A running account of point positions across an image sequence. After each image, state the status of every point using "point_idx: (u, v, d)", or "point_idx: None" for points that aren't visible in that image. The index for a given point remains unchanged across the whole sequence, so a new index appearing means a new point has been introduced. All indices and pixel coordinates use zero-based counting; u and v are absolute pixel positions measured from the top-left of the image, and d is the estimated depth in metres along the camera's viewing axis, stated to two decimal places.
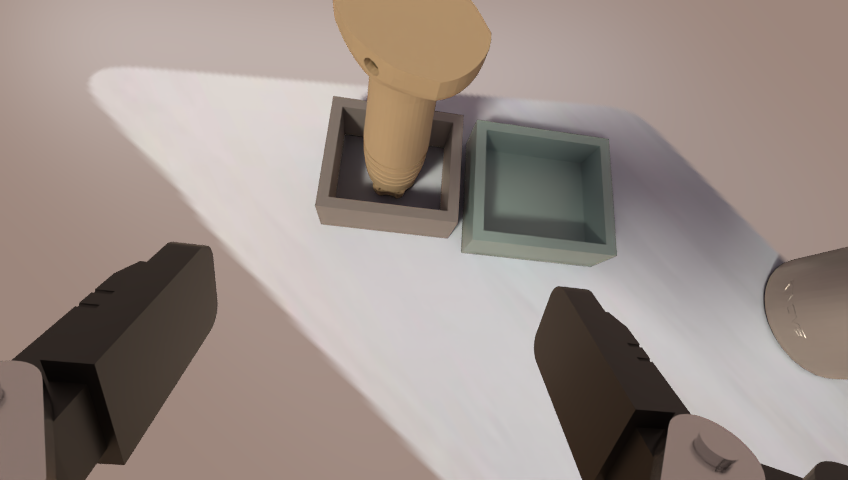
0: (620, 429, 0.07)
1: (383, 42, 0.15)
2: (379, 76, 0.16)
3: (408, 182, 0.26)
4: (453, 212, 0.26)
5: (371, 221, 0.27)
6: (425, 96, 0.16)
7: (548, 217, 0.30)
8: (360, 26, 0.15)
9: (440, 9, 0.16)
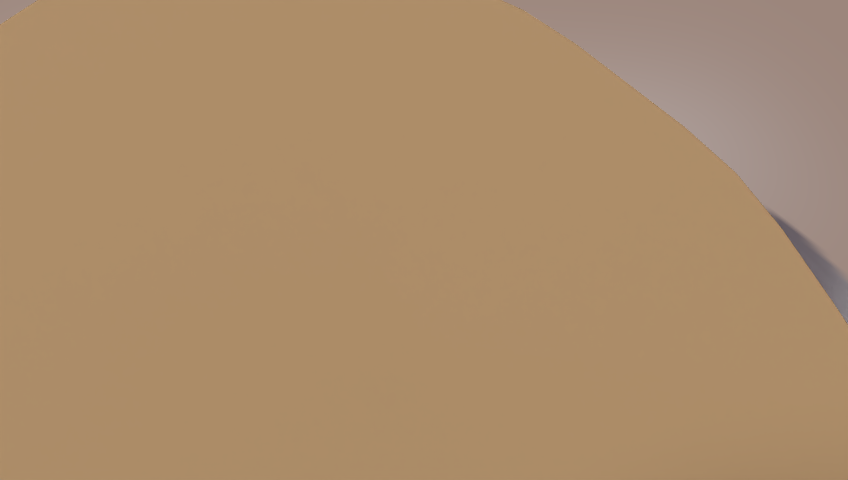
0: None
1: None
2: None
3: None
4: None
5: None
6: None
7: None
8: None
9: (592, 263, 0.03)
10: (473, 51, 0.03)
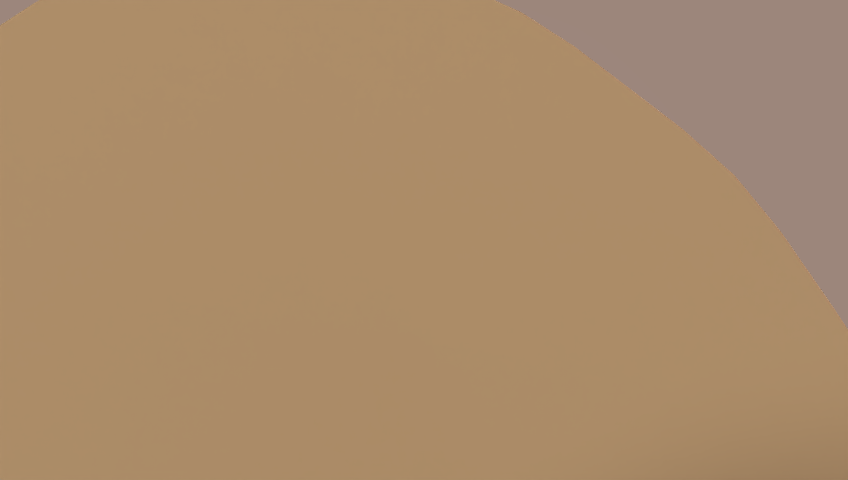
0: None
1: None
2: None
3: None
4: None
5: None
6: None
7: None
8: None
9: (590, 266, 0.03)
10: (471, 53, 0.03)
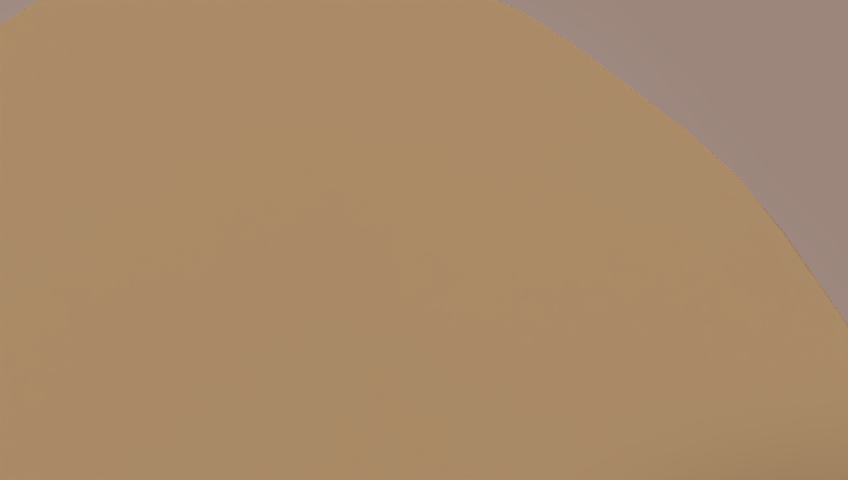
0: None
1: None
2: None
3: None
4: None
5: None
6: None
7: None
8: None
9: (592, 267, 0.03)
10: (473, 53, 0.03)
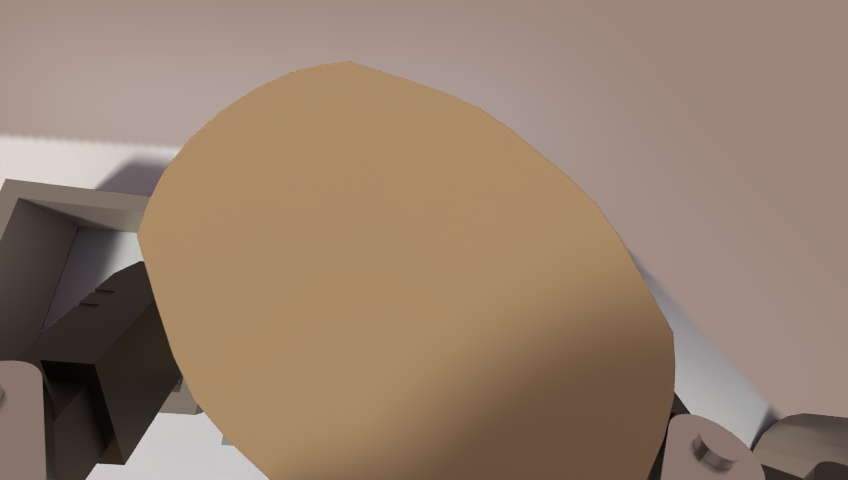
0: None
1: (313, 421, 0.04)
2: None
3: None
4: (190, 394, 0.15)
5: None
6: None
7: None
8: (231, 354, 0.04)
9: (511, 252, 0.05)
10: (451, 134, 0.05)
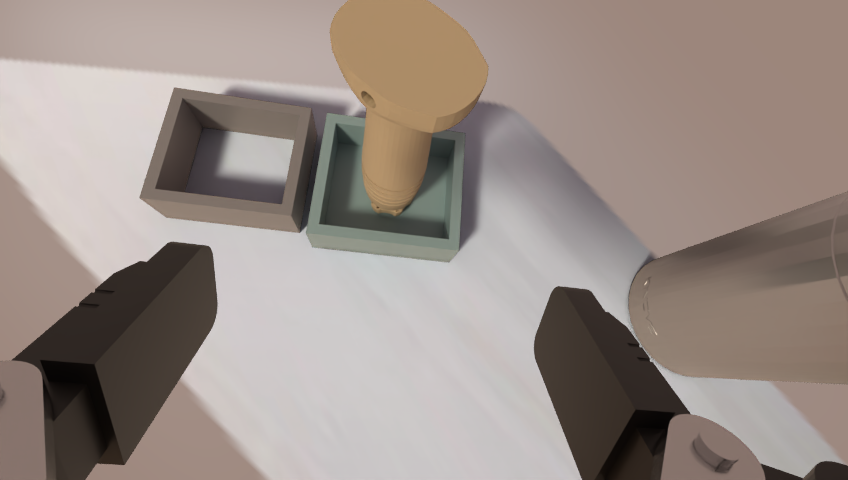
0: (620, 429, 0.07)
1: (380, 76, 0.15)
2: (376, 109, 0.16)
3: (406, 202, 0.26)
4: (287, 205, 0.26)
5: (210, 214, 0.26)
6: (422, 129, 0.16)
7: (406, 212, 0.30)
8: (357, 60, 0.15)
9: (437, 42, 0.16)
10: (419, 9, 0.16)
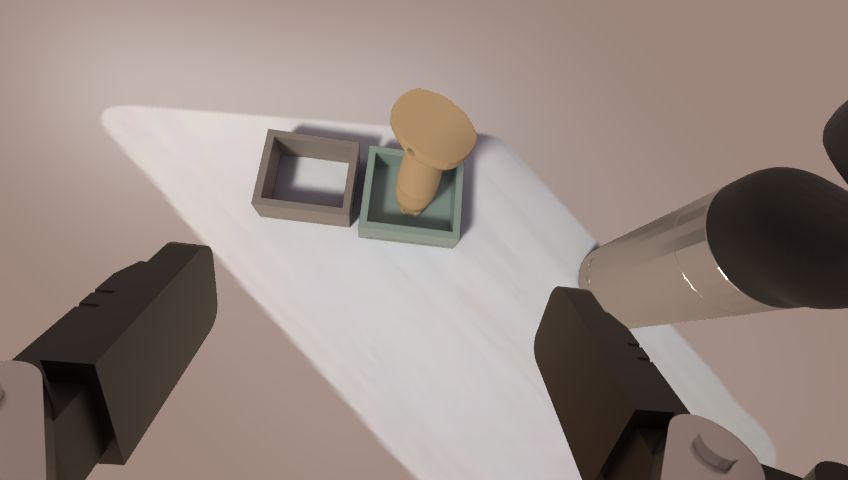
0: (620, 429, 0.07)
1: (418, 140, 0.28)
2: (415, 157, 0.29)
3: (424, 206, 0.39)
4: (346, 208, 0.39)
5: (292, 214, 0.39)
6: (440, 168, 0.29)
7: (423, 213, 0.43)
8: (406, 132, 0.28)
9: (448, 120, 0.29)
10: (438, 101, 0.29)
